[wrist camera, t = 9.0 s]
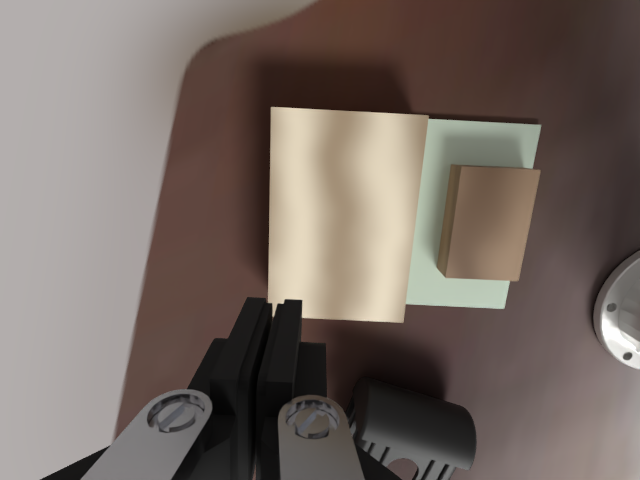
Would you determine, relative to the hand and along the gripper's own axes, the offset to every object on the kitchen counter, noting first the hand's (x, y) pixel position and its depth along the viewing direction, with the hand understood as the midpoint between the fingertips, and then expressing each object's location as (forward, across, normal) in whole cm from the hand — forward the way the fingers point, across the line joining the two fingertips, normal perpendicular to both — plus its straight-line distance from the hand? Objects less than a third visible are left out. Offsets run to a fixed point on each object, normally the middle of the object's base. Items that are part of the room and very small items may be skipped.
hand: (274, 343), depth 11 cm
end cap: (+21, -10, +19) cm, 30 cm away
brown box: (+18, -15, 0) cm, 24 cm away
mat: (+21, -13, 0) cm, 25 cm away
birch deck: (+21, -3, 0) cm, 21 cm away
